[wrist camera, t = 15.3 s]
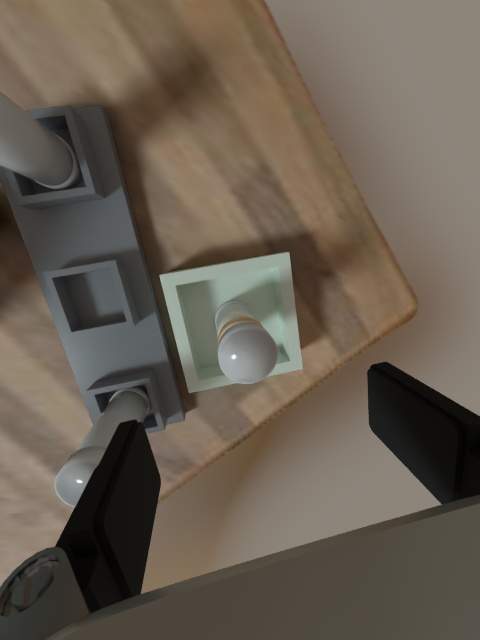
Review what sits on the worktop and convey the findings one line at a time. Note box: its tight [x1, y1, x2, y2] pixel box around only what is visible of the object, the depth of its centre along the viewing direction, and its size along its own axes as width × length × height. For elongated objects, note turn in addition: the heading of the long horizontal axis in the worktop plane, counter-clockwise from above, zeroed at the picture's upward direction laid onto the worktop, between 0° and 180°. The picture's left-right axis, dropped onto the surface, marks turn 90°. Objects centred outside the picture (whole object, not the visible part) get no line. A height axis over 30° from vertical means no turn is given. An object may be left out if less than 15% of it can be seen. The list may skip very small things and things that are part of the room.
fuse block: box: [0, 105, 186, 434], centre depth 25 cm, size 32×10×4 cm, turn 10°
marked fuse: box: [215, 300, 278, 384], centre depth 23 cm, size 4×4×11 cm
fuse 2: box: [55, 385, 151, 507], centre depth 23 cm, size 4×4×11 cm
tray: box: [159, 252, 303, 393], centre depth 27 cm, size 12×12×4 cm
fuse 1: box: [0, 92, 82, 191], centre depth 17 cm, size 4×4×11 cm
